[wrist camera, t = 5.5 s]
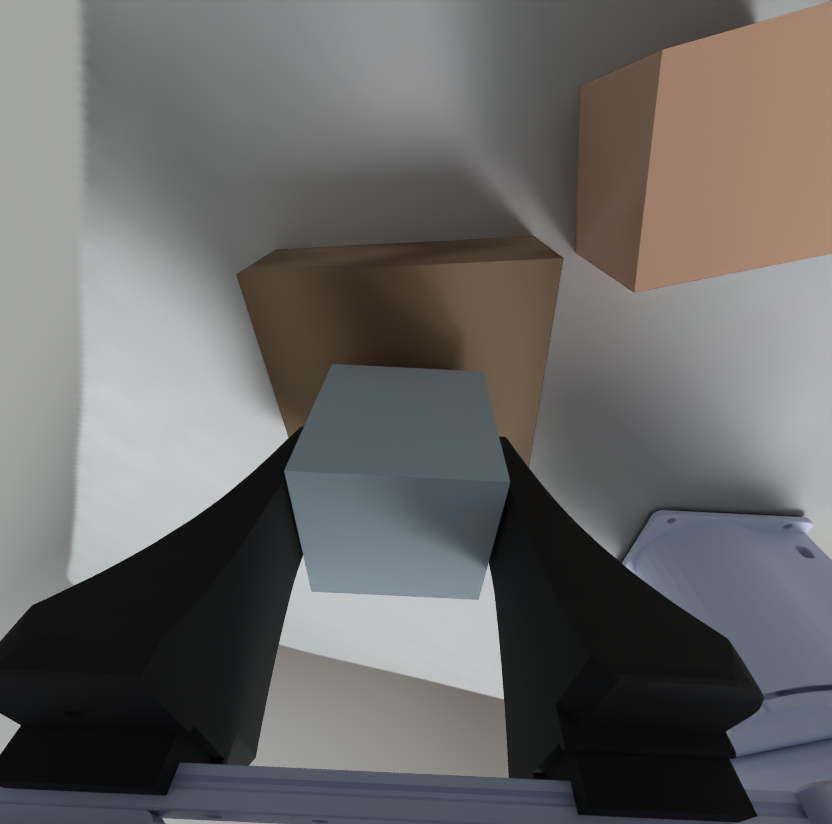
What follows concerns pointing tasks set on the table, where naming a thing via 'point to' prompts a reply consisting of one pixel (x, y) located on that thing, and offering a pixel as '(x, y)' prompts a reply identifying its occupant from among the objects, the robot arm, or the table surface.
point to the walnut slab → (409, 318)
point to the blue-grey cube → (398, 482)
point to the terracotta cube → (710, 155)
